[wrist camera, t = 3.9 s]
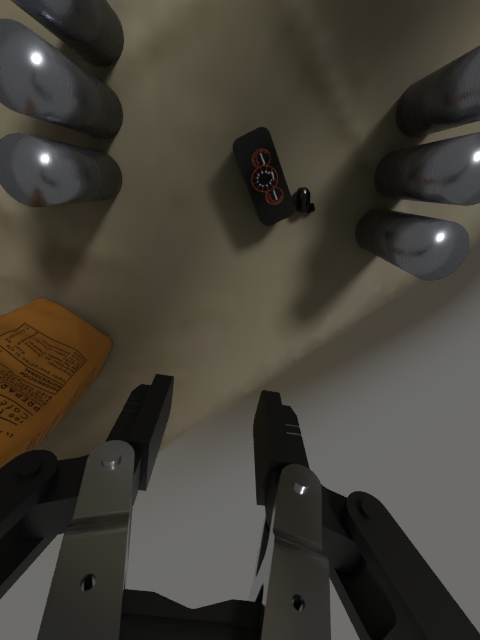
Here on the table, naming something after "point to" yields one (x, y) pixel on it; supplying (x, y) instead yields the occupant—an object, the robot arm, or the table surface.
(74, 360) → the coffee package
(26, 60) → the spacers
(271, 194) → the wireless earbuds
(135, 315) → the table surface
